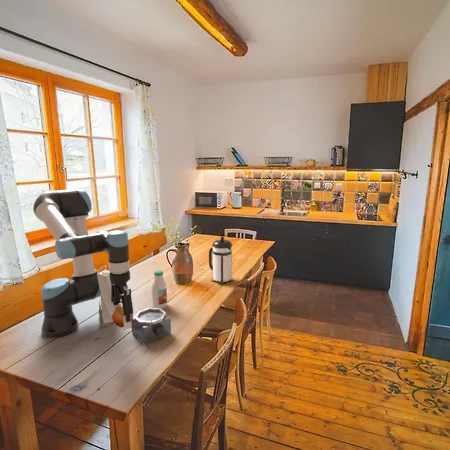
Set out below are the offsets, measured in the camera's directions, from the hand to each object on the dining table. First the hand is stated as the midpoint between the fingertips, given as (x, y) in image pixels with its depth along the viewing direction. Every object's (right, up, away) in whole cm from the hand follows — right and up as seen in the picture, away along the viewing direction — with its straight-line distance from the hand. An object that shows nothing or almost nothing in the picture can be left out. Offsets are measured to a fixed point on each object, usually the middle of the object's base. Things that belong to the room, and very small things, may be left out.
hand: (122, 323), depth 126 cm
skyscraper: (-16, -8, +29) cm, 34 cm away
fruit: (0, -1, 0) cm, 1 cm away
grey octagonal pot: (+8, -10, +17) cm, 21 cm away
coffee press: (+38, +3, +79) cm, 88 cm away
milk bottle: (+6, -4, +44) cm, 44 cm away
